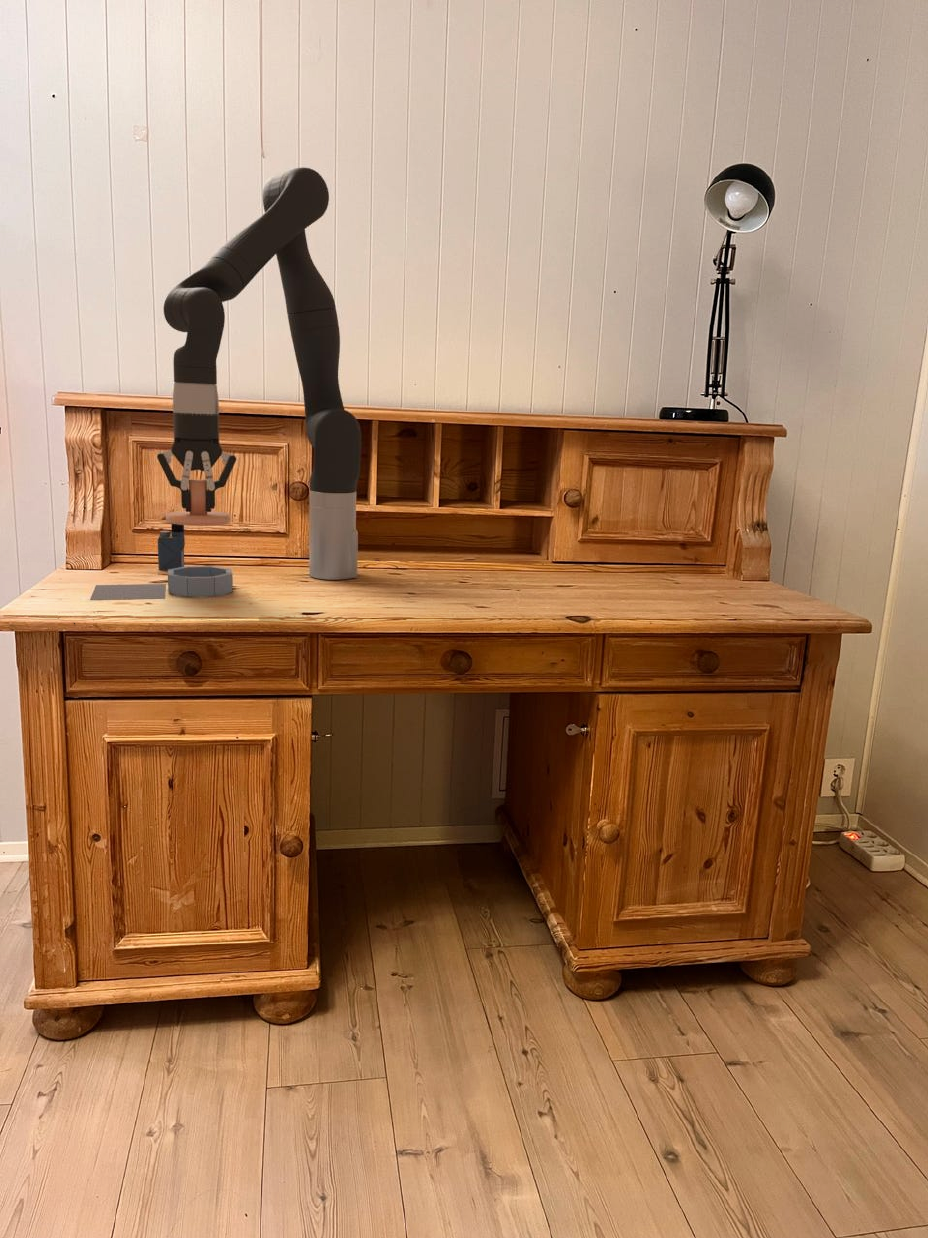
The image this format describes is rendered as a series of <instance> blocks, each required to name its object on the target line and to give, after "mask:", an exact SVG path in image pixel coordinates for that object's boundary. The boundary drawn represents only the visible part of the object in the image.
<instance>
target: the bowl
mask: <svg viewBox="0 0 928 1238" xmlns="http://www.w3.org/2000/svg"><path fill="white" fill-rule="evenodd" d="M233 579H234V577H233V571H232V568H227V567H221V566H214V565H186V566H185V565H184V567H179V568H174V569H169V570H168V571H167V592H168V594H171V595H173V596H177V597H185V598H213V597H215V598H216V597H221V596H225V595H228V594H231V593H232V592H233V591H234V590H233V589H234V587H233V585H234V584H233V582H234V580H233Z"/></svg>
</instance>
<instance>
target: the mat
mask: <svg viewBox="0 0 928 1238" xmlns="http://www.w3.org/2000/svg"><path fill="white" fill-rule="evenodd" d="M166 587H167V584H166V583H149V584H147V583H144V584H143V583H141V584H139V583H138V584H136V583H135V584H95V586H94V589H93V592H92V593H91V596H90V598H89V601H120V600H123V601H124V600H125V601H127V600H128V601H129V600H164V599H166V589H167V588H166Z"/></svg>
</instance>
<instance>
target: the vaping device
mask: <svg viewBox="0 0 928 1238" xmlns="http://www.w3.org/2000/svg"><path fill="white" fill-rule="evenodd" d="M170 524H171V523H170ZM185 540H186V539H185V525H178V524H171V531H170V530H160V531H159V535H158V538H157V558H158V559H157V561H158V563H157V564H158V566H157V567H158V570H159V571H167V572H168V570H169V569H174V568H179V567H185V546H186V541H185Z"/></svg>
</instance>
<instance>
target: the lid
mask: <svg viewBox="0 0 928 1238" xmlns="http://www.w3.org/2000/svg"><path fill="white" fill-rule="evenodd" d="M188 490H189V492H190V512H186V509H185V510H174V511H169V512H166V513H165V522H166V523H168V524H178V525H184V526H190V527H191V526H194V527H195V526H197V527H199V526H200V527H205V526H206V527H207V526H209V527H210V526H211V527H212V526H222V525H227V524H231V522H232V520H231V518H232V517H231V514H230V513H228V512H224V511H216V510H211V512H207V481H206V479H202V478H201V479H199V478H198V479H189V484H188Z"/></svg>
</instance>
